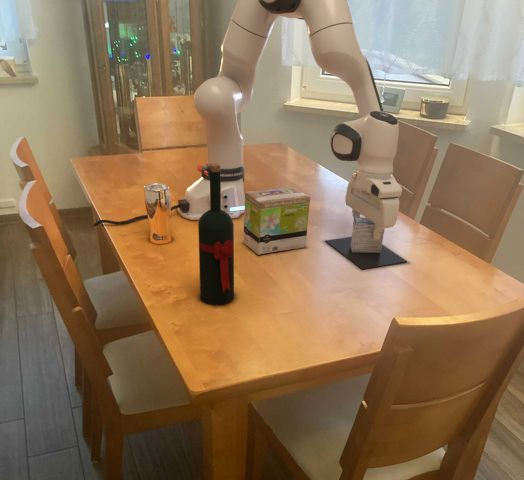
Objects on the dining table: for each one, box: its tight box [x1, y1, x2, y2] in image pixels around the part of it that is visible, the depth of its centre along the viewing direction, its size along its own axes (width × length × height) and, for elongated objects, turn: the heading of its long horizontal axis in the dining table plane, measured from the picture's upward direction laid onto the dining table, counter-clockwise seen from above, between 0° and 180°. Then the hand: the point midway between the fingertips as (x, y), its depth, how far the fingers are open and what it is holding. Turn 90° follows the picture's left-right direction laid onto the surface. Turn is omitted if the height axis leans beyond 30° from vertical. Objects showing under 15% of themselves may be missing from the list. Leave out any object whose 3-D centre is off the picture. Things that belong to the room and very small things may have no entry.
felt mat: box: [325, 236, 408, 271], centre depth 151 cm, size 14×20×1 cm
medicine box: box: [351, 217, 386, 253], centre depth 148 cm, size 8×4×9 cm, turn 89°
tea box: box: [242, 186, 311, 256], centre depth 148 cm, size 15×10×15 cm
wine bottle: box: [197, 164, 235, 306], centre depth 117 cm, size 8×10×30 cm
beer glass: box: [143, 182, 173, 245], centre depth 149 cm, size 7×7×15 cm
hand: (365, 232), depth 148 cm, fingers open, 8 cm apart
